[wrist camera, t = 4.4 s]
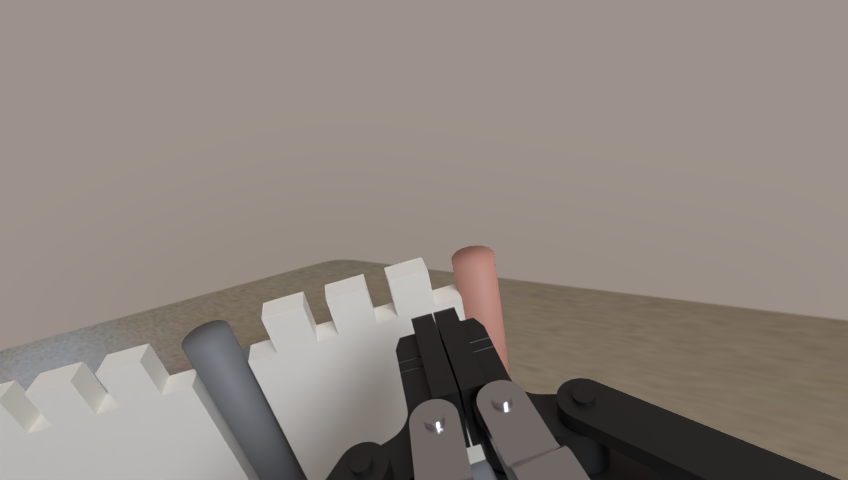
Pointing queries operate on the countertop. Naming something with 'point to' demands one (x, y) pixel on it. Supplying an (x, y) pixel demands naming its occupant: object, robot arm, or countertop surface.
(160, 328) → the countertop surface
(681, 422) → the robot arm
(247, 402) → the fixed fence panel
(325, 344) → the hinged fence panel
